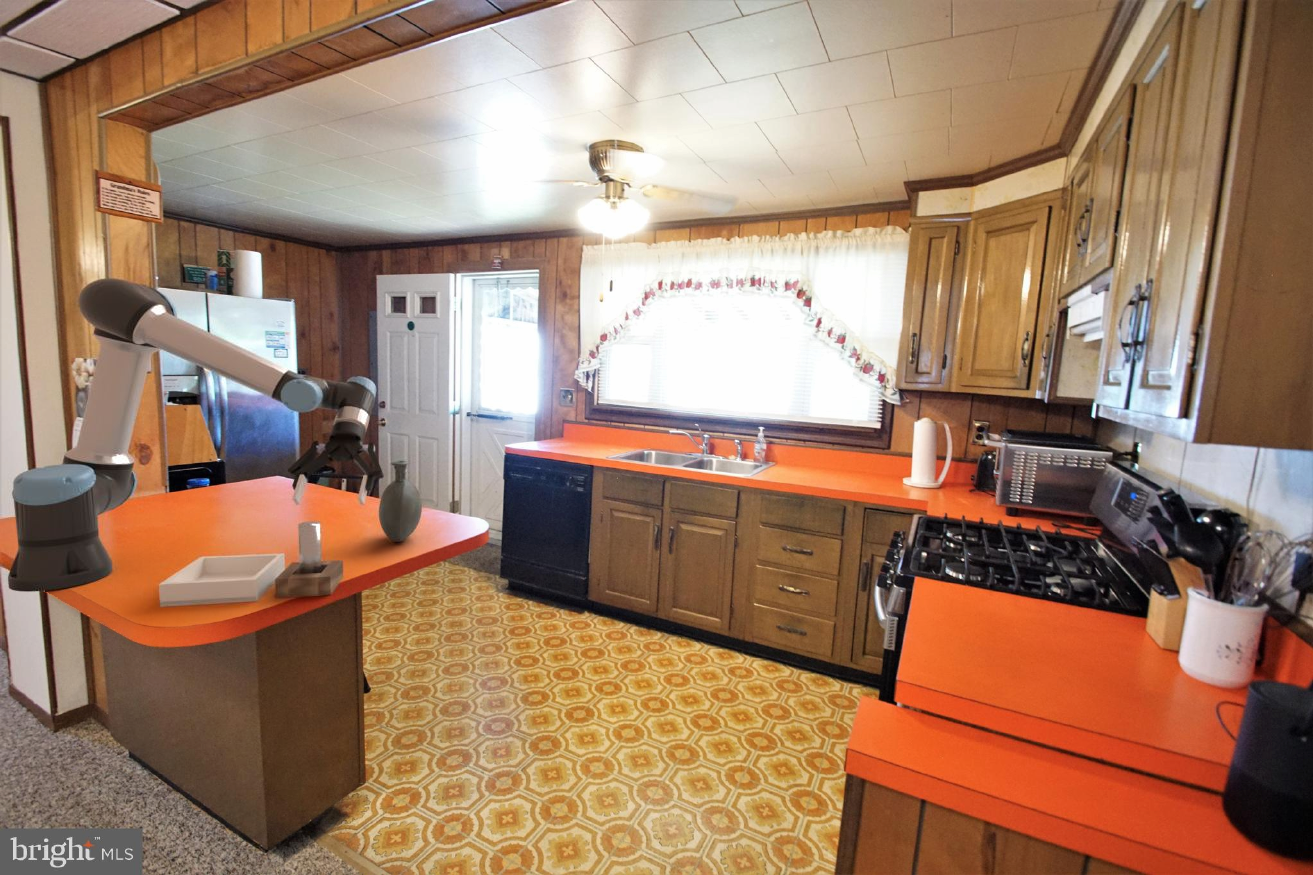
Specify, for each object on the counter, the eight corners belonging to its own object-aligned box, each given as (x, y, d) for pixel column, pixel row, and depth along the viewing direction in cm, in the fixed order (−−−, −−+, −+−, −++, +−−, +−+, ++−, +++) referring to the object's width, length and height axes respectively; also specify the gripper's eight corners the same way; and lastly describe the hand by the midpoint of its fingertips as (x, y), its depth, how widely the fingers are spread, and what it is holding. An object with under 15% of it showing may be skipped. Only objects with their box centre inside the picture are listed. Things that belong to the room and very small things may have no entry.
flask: (362, 548, 146) (361, 465, 143) (396, 530, 163) (395, 455, 160) (406, 551, 146) (405, 467, 143) (435, 532, 162) (435, 457, 160)
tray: (160, 606, 108) (158, 584, 107) (201, 576, 123) (200, 556, 122) (256, 601, 112) (255, 579, 112) (285, 572, 127) (284, 553, 127)
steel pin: (297, 591, 118) (295, 526, 116) (303, 584, 121) (301, 521, 120) (318, 590, 119) (317, 526, 117) (324, 583, 123) (322, 520, 121)
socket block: (275, 598, 114) (274, 579, 114) (292, 579, 124) (292, 562, 123) (330, 594, 117) (330, 576, 116) (343, 577, 126) (342, 560, 126)
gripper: (405, 439, 146) (390, 509, 134) (299, 437, 142) (273, 510, 129) (399, 421, 141) (383, 492, 128) (289, 418, 136) (261, 492, 123)
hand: (328, 501), depth 128 cm, fingers open, 13 cm apart
